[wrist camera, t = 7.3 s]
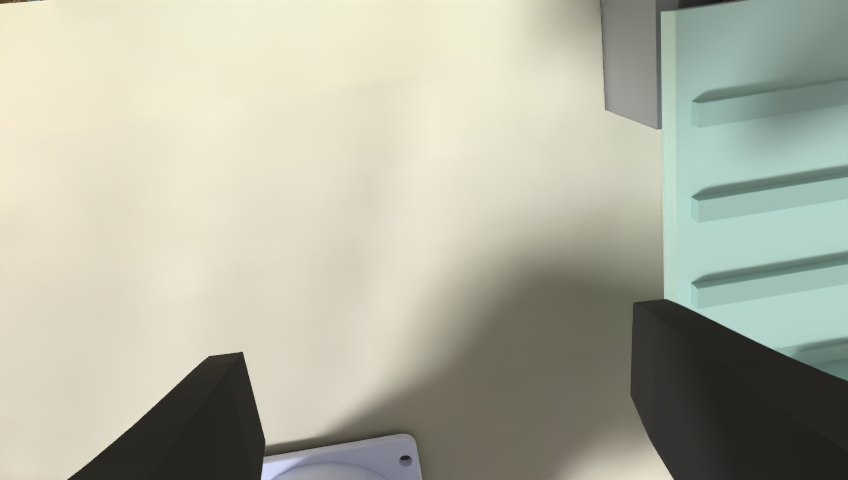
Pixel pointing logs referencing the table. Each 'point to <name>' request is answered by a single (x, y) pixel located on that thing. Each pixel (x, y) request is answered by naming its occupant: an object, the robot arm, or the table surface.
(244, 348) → the table surface
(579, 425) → the table surface
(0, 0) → the food container
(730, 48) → the teal ridged block
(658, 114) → the tub
